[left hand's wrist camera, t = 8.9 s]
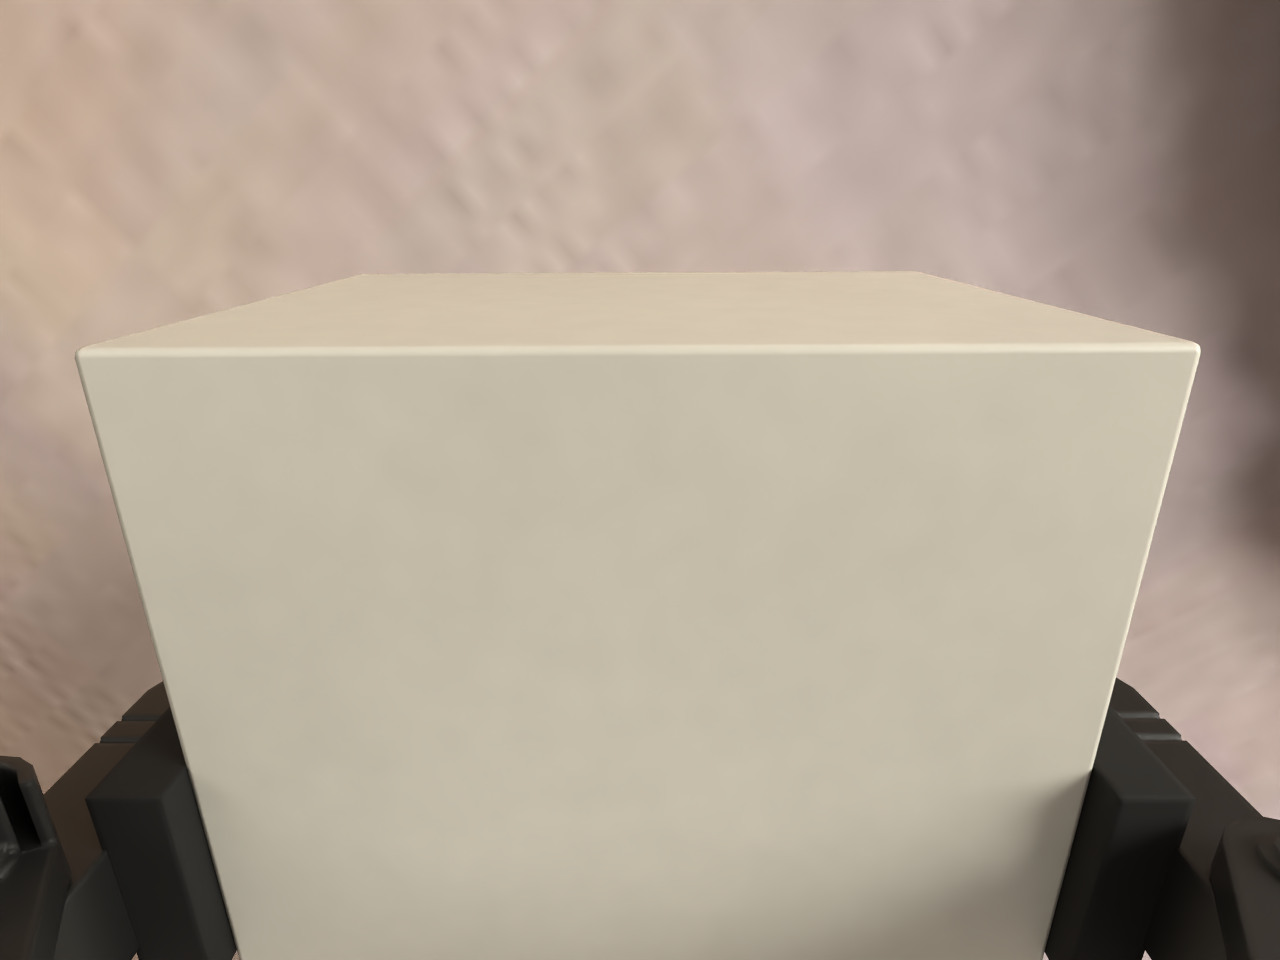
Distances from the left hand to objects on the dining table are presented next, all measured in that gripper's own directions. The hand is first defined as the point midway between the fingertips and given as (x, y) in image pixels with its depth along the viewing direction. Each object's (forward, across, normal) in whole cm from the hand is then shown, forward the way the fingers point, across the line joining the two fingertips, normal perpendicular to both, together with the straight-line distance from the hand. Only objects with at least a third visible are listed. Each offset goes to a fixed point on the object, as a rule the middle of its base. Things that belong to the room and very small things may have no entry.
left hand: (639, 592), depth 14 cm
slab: (+1, 0, -22) cm, 22 cm away
